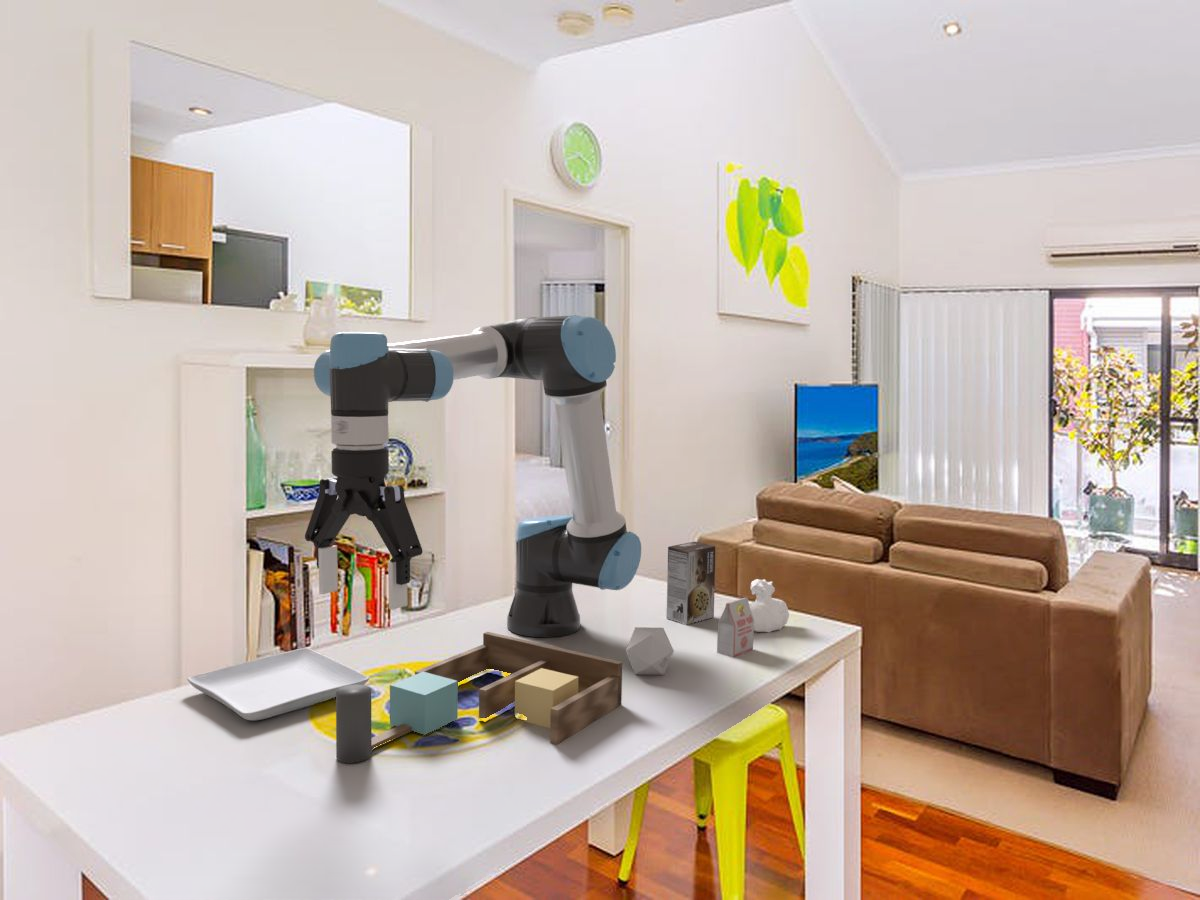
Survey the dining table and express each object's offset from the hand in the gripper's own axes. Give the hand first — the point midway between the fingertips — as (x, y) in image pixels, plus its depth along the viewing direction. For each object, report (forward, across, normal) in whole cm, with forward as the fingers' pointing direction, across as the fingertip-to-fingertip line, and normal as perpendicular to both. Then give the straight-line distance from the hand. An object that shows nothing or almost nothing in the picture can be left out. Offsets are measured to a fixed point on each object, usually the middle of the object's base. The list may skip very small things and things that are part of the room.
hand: (362, 599), depth 118 cm
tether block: (+21, +2, +4) cm, 21 cm away
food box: (+22, +10, +84) cm, 88 cm away
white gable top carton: (+22, +27, +69) cm, 77 cm away
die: (+22, +19, +49) cm, 57 cm away
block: (+21, +15, +23) cm, 35 cm away
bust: (+22, +26, +87) cm, 94 cm away
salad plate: (+22, -25, +6) cm, 34 cm away
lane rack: (+21, +9, +24) cm, 33 cm away
